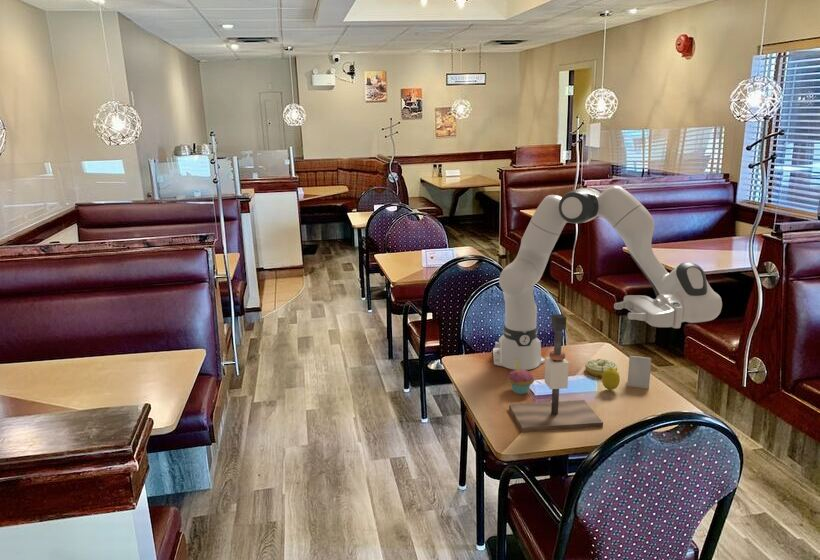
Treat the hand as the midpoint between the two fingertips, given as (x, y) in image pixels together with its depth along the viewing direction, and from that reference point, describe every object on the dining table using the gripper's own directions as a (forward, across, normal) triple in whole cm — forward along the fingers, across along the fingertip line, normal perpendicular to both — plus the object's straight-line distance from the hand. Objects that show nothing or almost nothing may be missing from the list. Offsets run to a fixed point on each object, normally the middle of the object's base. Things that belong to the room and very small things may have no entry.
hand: (621, 311), depth 187 cm
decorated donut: (-7, -28, +32) cm, 43 cm away
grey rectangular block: (-15, -16, +32) cm, 39 cm away
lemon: (-4, -13, +32) cm, 35 cm away
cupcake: (+25, -17, +32) cm, 44 cm away
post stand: (+20, +3, +32) cm, 38 cm away
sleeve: (+20, +3, +21) cm, 29 cm away
